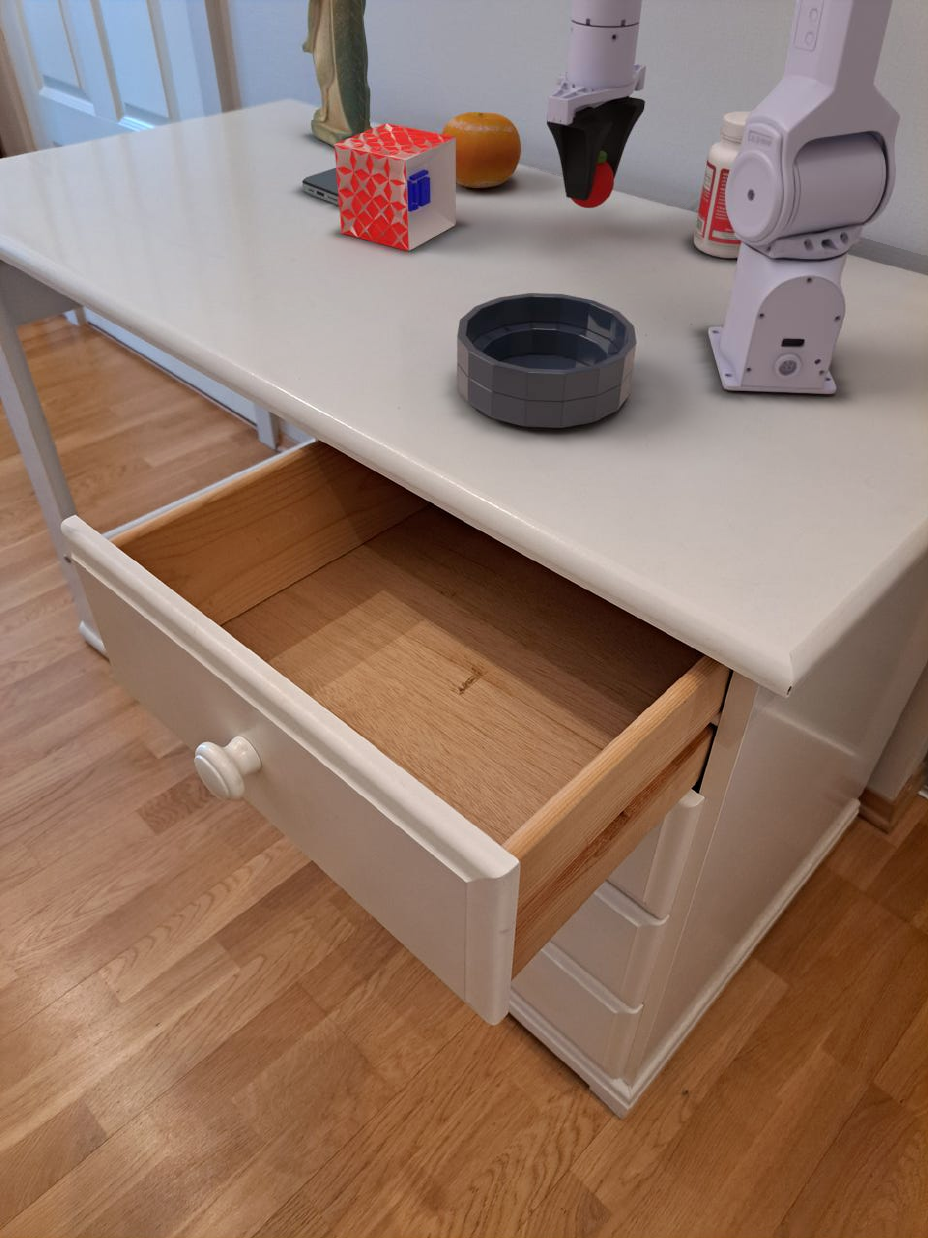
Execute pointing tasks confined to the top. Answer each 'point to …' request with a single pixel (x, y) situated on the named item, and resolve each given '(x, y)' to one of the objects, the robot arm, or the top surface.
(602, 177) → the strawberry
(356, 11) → the statue
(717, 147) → the pill bottle
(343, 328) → the top surface
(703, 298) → the top surface
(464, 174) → the fruit
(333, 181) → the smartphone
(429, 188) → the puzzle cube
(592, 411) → the bowl
